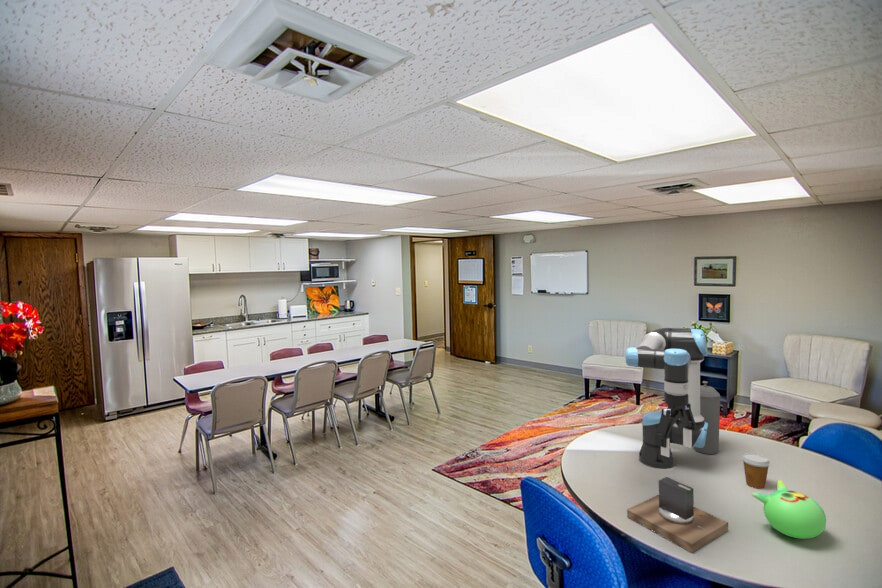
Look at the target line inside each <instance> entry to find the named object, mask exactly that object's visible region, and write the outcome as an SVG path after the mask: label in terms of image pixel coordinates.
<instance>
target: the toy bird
mask: <svg viewBox="0 0 882 588" xmlns="http://www.w3.org/2000/svg"><path fill="white" fill-rule="evenodd" d="M751 495H752V497H753V498H754V499H757V500H758V501H760V502H761V503H763V512H764V513H763V514H764V517H765V518H766V520H767V522H768V523H769V524H770V525H771V527H773V528H774V529H775V530H776V531H778V532H779V533H781V534H783V535H785V536H787V537H791V538H795V539H803V540H805V539H813V538H816V537H818V536H819V535H821V534H822V533H823V531H824V530H825V528H826V525H827V516H826V512H825V511H824V509H823V507H822V506H821V505H820V504H819V503H818V502H817V500H815V499H814V498H812V497H811V496H809V495H807V494H804V493H802V492H799V491H796V490H795V491H794V490H789V489H788V487H787V486H786V484H785V482H784V481H783V480H781V479H778V480H777V484H776V491H774V492H773V493H770V494H765V493H759V492H752V493H751Z"/></svg>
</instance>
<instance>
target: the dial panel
mask: <svg viewBox="0 0 882 588" xmlns="http://www.w3.org/2000/svg"><path fill="white" fill-rule="evenodd" d="M626 516H627V518H628V519H630V520H631V519H632V521H634V522H635V521H636V522H635V523H636V524H638V525H640V524H641V525H640V526H642V525H644V526H645V527H644V526H643V527H644V528H646V527H647V528H646V529H648V528H649V529H651V530H653V531H655V532H656V533H655V532H654V533H655V534H657V533H658V534H660V535H662V536H663V537H662V536H661V537H662V538H664V537H665V538H664V539H666V538H667V539H668V540H667V539H666V540H667V541H669V540H670V541H669V542H671V541H672V542H671V543H673V544H674V545H676V544H677V546H678V545H679V546H678V547H680V548H682V549H684V550H685V549H686V551H687V550H688V553H691V554H693V553H694V551H695V552H696V551H698V550H699V549H701V548H703V547H704V546H706V545H707V544H709V543H711V542H712V541H714V540H716V539H717V538H718V537H720V536H722V535H724V534H725V533H726V532H728V531H729V522H728V521H726V520H723V519H721V518H719V517H717V516H715V515H713V514H711V513H708V512H706V511H704V510H703V509H700V508H697V507H696V506H694V520H693V522H692V523H689V524H677V523H673V522H670V521H668V520H666V519H664V518H663V517H662V516H661V515H660V514H659V494H657V495H655V496H652V497H651V498H648V499H646V500H644V501H642V502H639V503H638V504H636V505H633V506H631V507H629V508H628V509H626ZM649 529H648V530H649ZM651 530H650V531H651ZM653 531H652V532H653ZM658 534H657V535H658ZM660 535H659V536H660Z"/></svg>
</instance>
